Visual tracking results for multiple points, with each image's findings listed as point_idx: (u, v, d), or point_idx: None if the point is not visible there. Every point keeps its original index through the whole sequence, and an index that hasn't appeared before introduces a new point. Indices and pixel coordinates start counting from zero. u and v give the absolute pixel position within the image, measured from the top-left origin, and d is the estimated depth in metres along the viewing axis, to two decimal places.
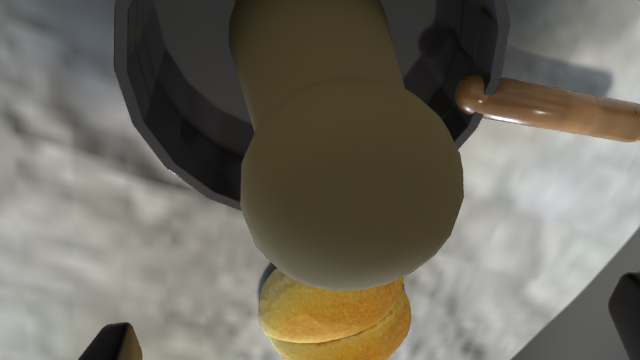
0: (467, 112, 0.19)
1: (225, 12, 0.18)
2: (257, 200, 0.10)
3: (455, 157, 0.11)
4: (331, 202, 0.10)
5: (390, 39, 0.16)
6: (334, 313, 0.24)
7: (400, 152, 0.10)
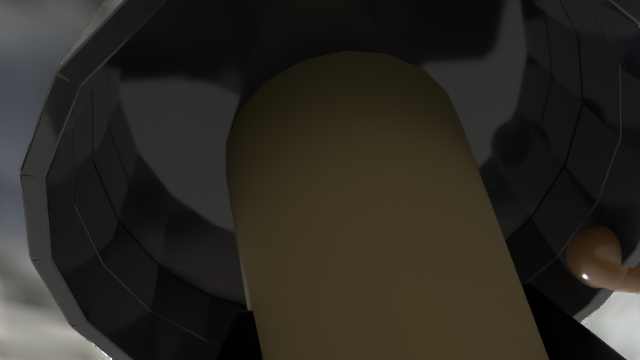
0: (589, 285, 0.12)
1: (220, 132, 0.12)
2: None
3: None
4: None
5: (491, 205, 0.10)
6: None
7: None
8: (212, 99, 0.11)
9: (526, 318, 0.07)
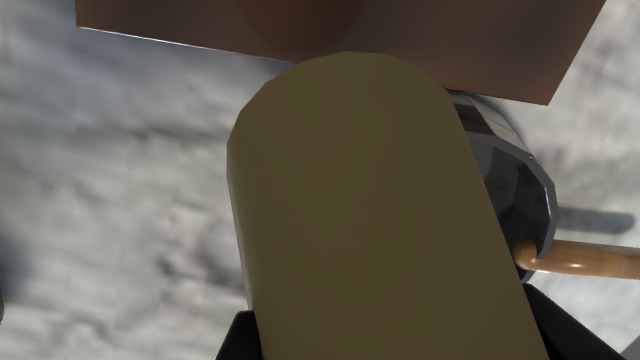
0: (522, 268, 0.24)
1: None
2: None
3: None
4: None
5: (492, 206, 0.10)
6: None
7: None
8: None
9: (527, 319, 0.07)
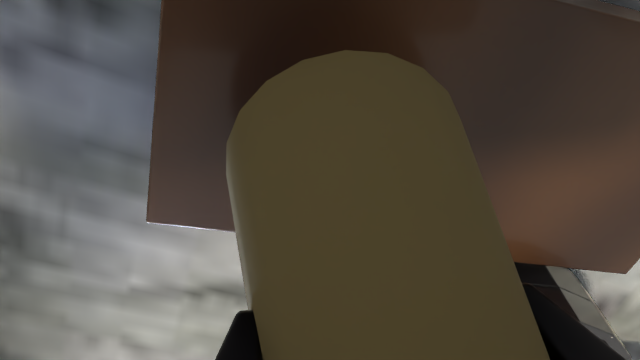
0: None
1: None
2: None
3: None
4: None
5: (492, 205, 0.10)
6: None
7: None
8: None
9: (527, 318, 0.07)
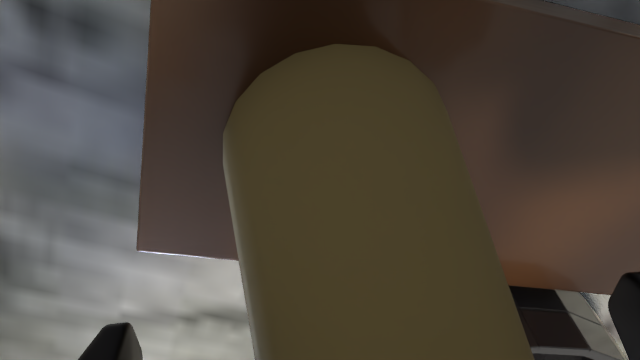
0: None
1: None
2: None
3: None
4: None
5: (473, 189, 0.10)
6: None
7: None
8: None
9: (501, 288, 0.08)
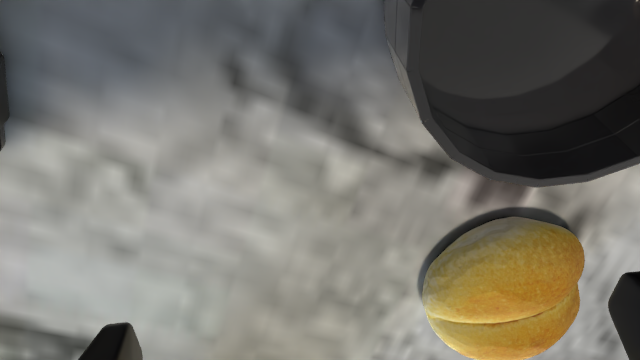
0: None
1: None
2: None
3: None
4: None
5: None
6: (527, 291, 0.23)
7: None
8: None
9: None
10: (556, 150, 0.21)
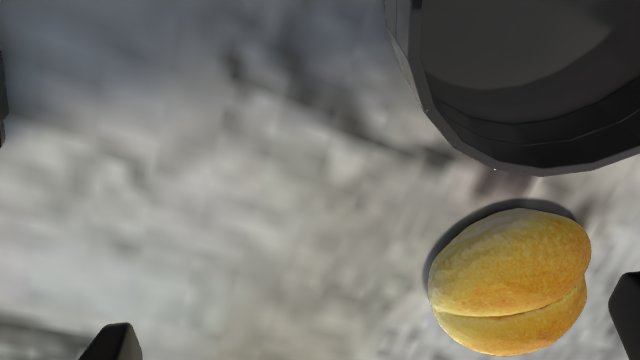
0: None
1: None
2: None
3: None
4: None
5: None
6: (533, 282, 0.23)
7: None
8: None
9: None
10: (561, 139, 0.20)
